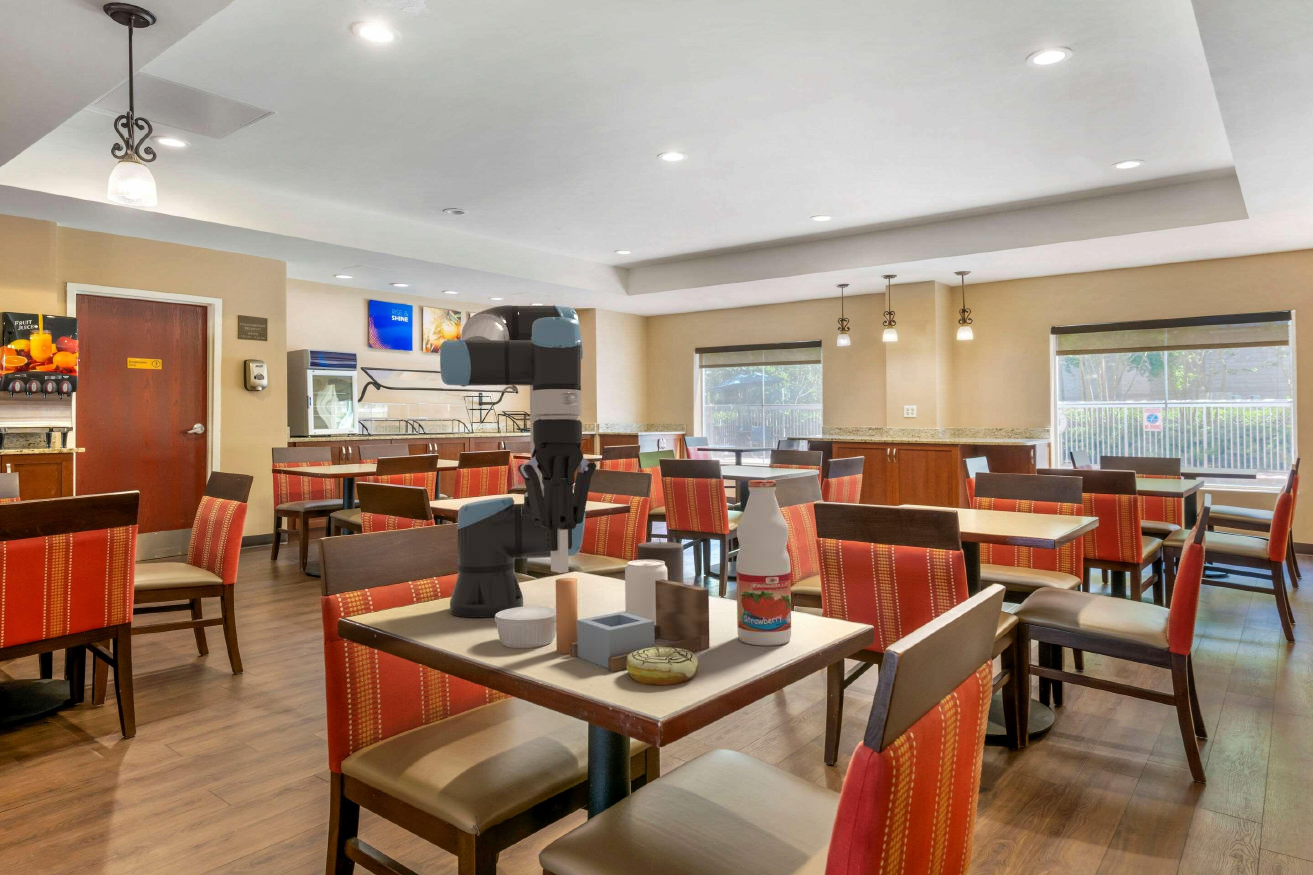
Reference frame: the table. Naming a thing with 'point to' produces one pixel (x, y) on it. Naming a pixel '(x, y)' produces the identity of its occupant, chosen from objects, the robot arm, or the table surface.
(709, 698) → the table surface
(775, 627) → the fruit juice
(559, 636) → the dowel
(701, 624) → the track with backstop wall
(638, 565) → the beverage can
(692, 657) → the decorated donut
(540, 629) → the ramekin
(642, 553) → the pillar candle
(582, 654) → the socket block
